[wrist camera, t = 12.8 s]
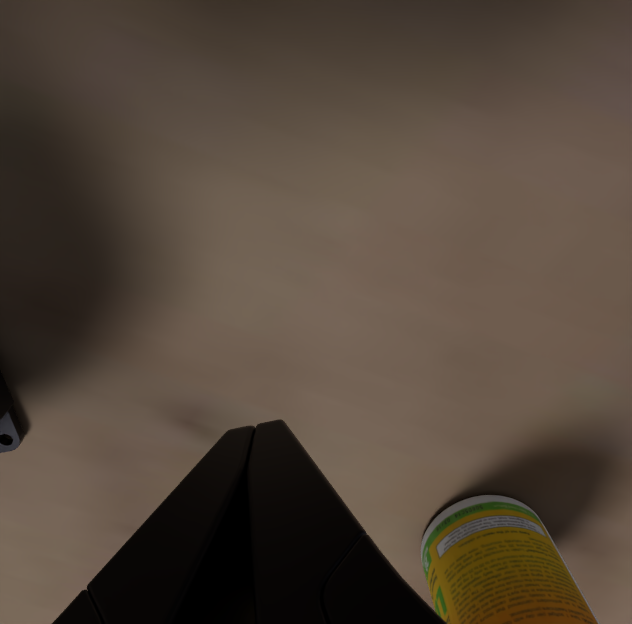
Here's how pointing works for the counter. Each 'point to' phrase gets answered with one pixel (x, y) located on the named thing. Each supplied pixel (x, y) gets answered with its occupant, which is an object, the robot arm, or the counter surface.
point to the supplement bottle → (498, 567)
